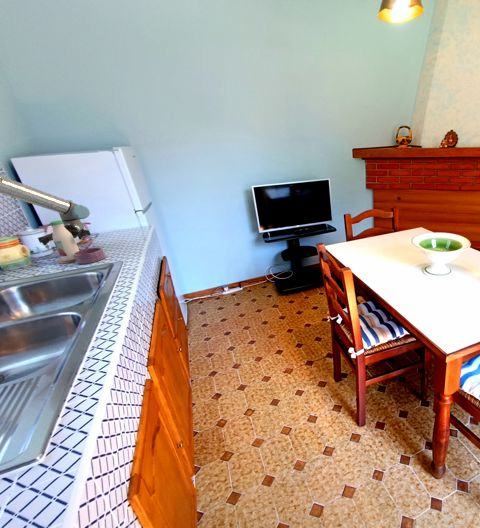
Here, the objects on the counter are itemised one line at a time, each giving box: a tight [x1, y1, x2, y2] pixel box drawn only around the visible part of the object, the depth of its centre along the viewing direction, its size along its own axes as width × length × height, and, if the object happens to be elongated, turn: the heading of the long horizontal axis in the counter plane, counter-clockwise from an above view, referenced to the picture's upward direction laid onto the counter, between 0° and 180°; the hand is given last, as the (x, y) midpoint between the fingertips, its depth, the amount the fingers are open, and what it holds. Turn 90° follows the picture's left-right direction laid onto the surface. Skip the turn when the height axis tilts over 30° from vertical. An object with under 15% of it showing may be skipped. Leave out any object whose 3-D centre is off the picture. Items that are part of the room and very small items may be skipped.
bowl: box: [73, 246, 106, 265], centre depth 152 cm, size 12×12×5 cm
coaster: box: [57, 259, 76, 265], centre depth 155 cm, size 11×11×1 cm
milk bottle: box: [49, 219, 80, 261], centre depth 151 cm, size 8×8×20 cm
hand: (61, 239), depth 148 cm, fingers open, 13 cm apart
